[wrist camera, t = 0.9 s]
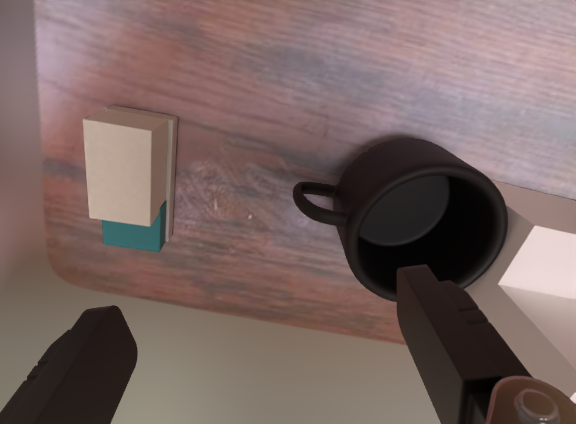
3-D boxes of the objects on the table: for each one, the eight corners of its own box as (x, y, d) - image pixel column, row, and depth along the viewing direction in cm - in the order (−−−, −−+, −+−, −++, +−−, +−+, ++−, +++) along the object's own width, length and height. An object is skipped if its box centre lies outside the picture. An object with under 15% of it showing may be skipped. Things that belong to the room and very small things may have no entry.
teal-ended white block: (111, 104, 22) (76, 117, 18) (178, 116, 23) (157, 131, 19) (115, 226, 26) (87, 258, 22) (172, 234, 27) (154, 267, 23)
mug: (473, 145, 24) (543, 182, 18) (424, 253, 28) (467, 315, 22) (305, 108, 23) (316, 135, 16) (278, 227, 27) (278, 286, 20)
